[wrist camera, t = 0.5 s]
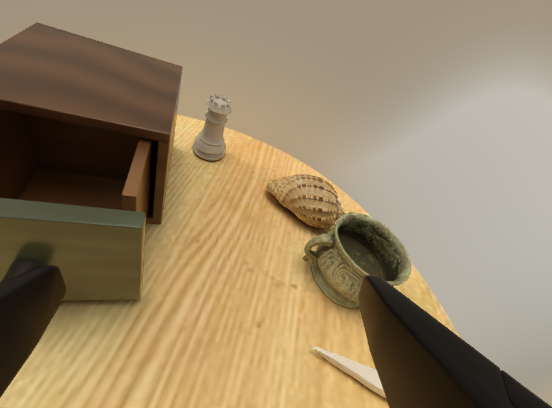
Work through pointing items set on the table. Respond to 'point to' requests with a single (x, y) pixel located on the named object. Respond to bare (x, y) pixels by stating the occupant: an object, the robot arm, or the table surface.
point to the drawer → (74, 204)
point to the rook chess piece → (213, 130)
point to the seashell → (308, 199)
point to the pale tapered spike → (355, 370)
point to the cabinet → (94, 91)
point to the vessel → (356, 257)
